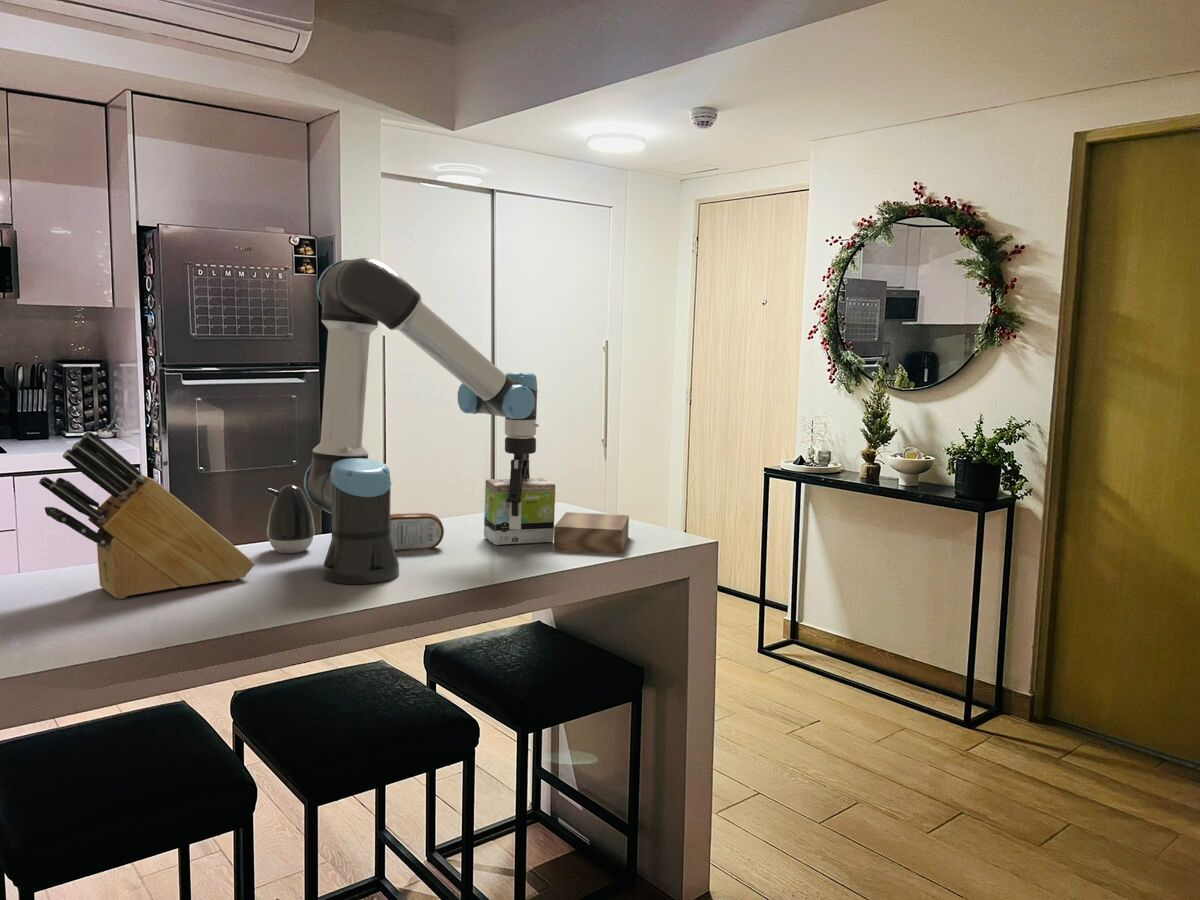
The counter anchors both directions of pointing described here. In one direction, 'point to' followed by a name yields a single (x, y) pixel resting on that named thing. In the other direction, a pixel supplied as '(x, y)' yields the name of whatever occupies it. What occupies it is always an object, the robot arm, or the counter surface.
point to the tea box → (533, 512)
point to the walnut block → (591, 532)
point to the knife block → (141, 527)
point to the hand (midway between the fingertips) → (519, 523)
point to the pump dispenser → (290, 520)
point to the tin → (415, 531)
